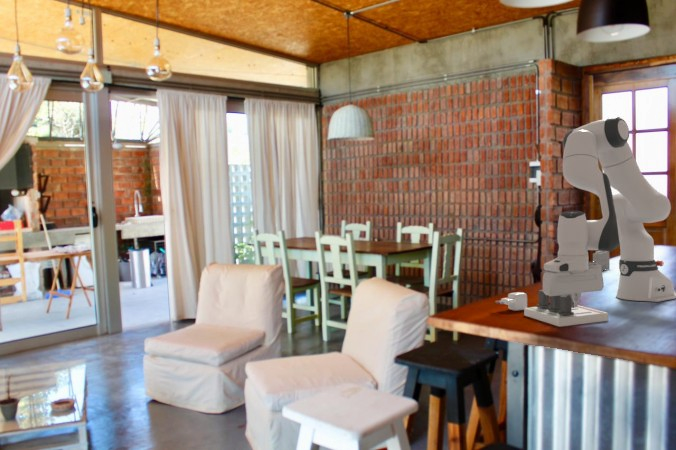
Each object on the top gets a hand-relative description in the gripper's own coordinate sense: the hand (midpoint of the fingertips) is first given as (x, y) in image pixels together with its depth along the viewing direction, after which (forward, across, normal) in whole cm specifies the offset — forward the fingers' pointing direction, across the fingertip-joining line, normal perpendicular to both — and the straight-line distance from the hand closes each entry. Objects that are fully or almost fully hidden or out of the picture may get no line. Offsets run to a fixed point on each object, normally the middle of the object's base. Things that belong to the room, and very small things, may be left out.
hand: (573, 307), depth 183 cm
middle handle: (+2, +2, -6) cm, 7 cm away
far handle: (+2, +2, -12) cm, 12 cm away
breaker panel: (+5, -1, -6) cm, 8 cm away
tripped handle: (+2, +3, 0) cm, 3 cm away
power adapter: (+5, +7, -24) cm, 26 cm away
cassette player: (+7, -84, -84) cm, 119 cm away
